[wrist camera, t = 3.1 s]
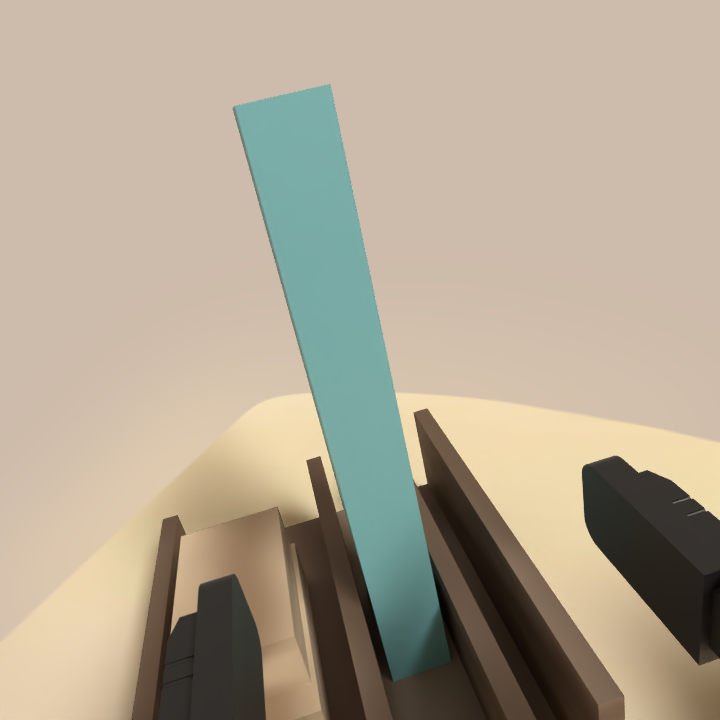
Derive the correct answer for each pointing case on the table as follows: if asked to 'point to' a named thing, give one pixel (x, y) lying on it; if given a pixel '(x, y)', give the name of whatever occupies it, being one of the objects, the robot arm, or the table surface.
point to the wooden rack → (457, 605)
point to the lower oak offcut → (309, 702)
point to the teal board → (345, 360)
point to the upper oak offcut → (251, 588)
